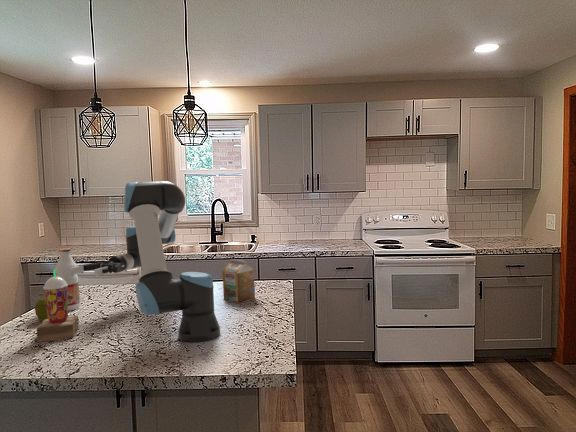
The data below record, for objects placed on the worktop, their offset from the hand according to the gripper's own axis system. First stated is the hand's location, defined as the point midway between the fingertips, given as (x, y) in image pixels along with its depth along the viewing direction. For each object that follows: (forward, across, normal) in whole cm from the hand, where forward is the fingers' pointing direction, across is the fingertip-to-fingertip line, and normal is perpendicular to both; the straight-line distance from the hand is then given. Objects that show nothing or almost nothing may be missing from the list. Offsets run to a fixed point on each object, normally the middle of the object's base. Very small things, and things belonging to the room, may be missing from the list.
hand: (82, 272), depth 180 cm
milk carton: (-52, -42, -22) cm, 71 cm away
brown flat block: (+12, +1, -22) cm, 25 cm away
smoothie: (+12, +1, -17) cm, 21 cm away
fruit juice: (-16, +28, -21) cm, 38 cm away
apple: (0, +21, -22) cm, 30 cm away
